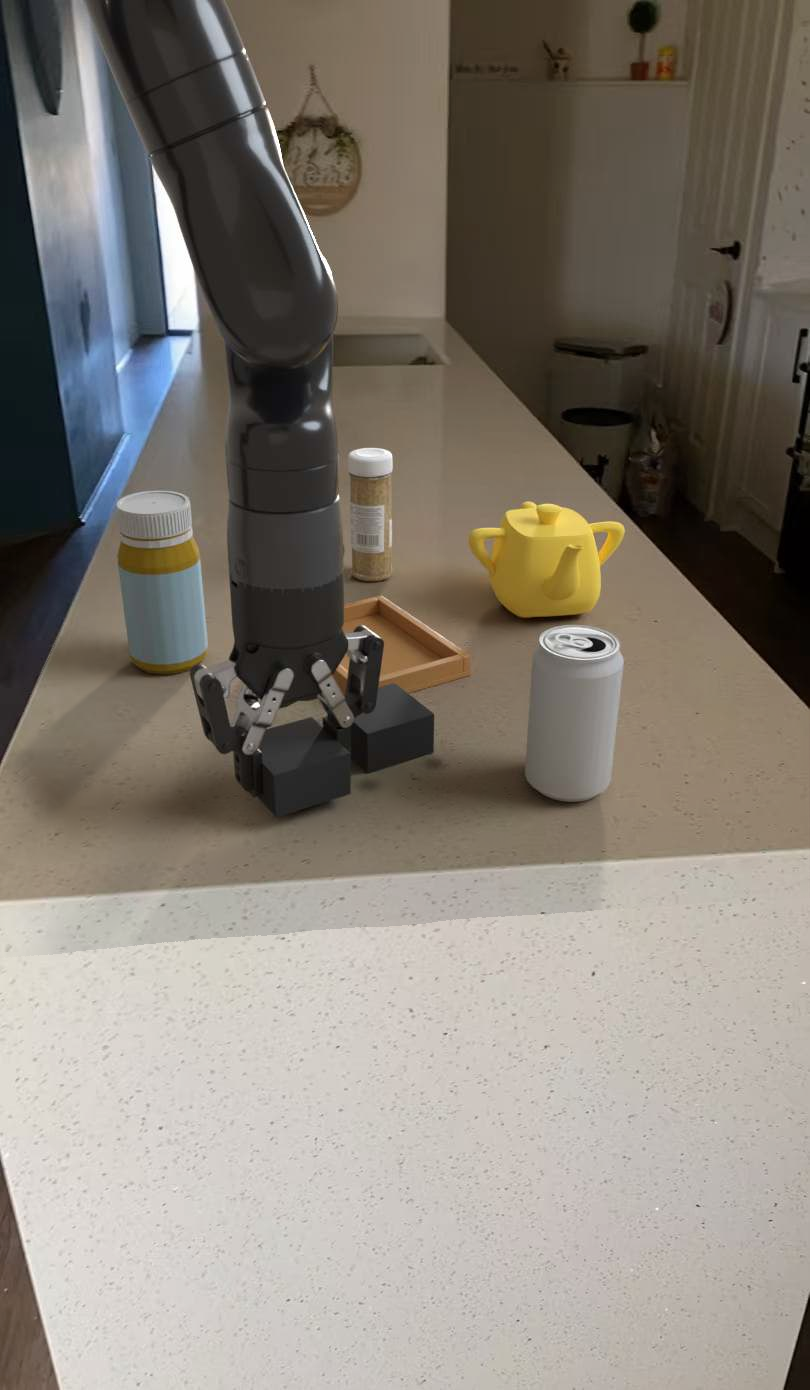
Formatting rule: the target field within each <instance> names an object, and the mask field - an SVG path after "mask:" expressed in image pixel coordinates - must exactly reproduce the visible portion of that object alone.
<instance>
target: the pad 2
mask: <svg viewBox="0 0 810 1390" xmlns="http://www.w3.org/2000/svg"><path fill="white" fill-rule="evenodd" d="M434 746H435V713H434V712H432V711H431V710H430V709H429V708H427V707H426V706H425V705H424V704H422V702H420V701H419V700H418V699H416V698H415V697H414V696H412V695H411V693H407V692H406V691H405V690H403V689H402V688H401V687H400V686H398V685H397V684H396V683H392V684H389V685H385V686H381V687H378V693H377V700H376V707H375V709H374V710H373V711H372V712H371V713H369V714H365V713H362V714H360V715H358V716H357V717H356V718H355V719H354V722H353V724H352V725H351V756H350V759H352V760H353V761H354V762H355V763H356V764H357V765H358V766H359V767H360V768H361V769H362V770H364V771H365V772H366V774H370V773H373V772H377V771H379V770H382V769H385V768H389V767H391V766H396V765H399V764H401V763H404V762H407V761H410V760H413V759H416V758H420V757H423V756H426V755H430V754H432V753H434V751H435V750H434V748H435V747H434Z"/></svg>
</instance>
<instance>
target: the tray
mask: <svg viewBox="0 0 810 1390" xmlns="http://www.w3.org/2000/svg"><path fill="white" fill-rule="evenodd" d="M360 625H363V626H365V627H367V628H368V629H369V630H371V631H372V632H373V633H375V634H376V635H377V636H379V637H380V638H381V639H383V641H384V649H383V657H382V664H381V671H380V678H379V686H378V687H381V686H385V685H389V684H392V683H396V684H397V685H398V686H400V687H401V688H402V689H403V690H405V691H406V692H407V693H408V694H411V693H415V692H419V691H421V690H425V689H428V688H432V687H435V686H438V685H442V684H445V683H449V682H452V681H456V680H459V679H462V678H466V677H470V676H471V660H472V659H471V655H470V654H469V653H467V652H466V651H464V650H463V649H462V648H460V647H459V646H457V645H455V644H454V643H452V641H450V640H448V639H447V638H445V637H444V636H442V635H441V634H439V633H438V632H436V631H434V630H433V629H431V628H430V627H429V626H427V625H426V624H424V623H423V622H422V621H420V620H418V619H417V618H415V617H414V616H412V615H411V614H409V613H408V612H407V611H405V610H404V609H402V608H400V607H399V606H398V605H396V604H394V603H393V602H392V601H390V600H389V599H387V598H386V597H384V596H383V595H377V596H373V597H369V598H364V599H360V600H356V601H352V602H348V603H344V624H343V627H342V629H343V632H344V633H352V632H354V630H355V628H356V627H358V626H360ZM349 661H350V658H349V657H348V656H347V652H346V654H345V656H344V658H343V659H342V661H341V663H340V664H339V666H338V668H337V669H336V671H335V673H334V674H333V677H334V679H335V680H336V682H337V684H338V686H339V688H340V689H341V691H342V693H343V695H345V693H346V685H347V677H348V669H349Z"/></svg>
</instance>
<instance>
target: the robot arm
mask: <svg viewBox="0 0 810 1390" xmlns="http://www.w3.org/2000/svg"><path fill="white" fill-rule="evenodd" d="M83 3H84V6H85V7H86V8H85V9H86V10H87V13H88V17H89V19H90V21H91V24H92V26H93V30H94V31H95V34H96V36H97V39H98V42H99V45H100V46H101V50H102V52H103V54H104V57H105V59H106V62H107V65H108V67H109V69H110V71H111V74H112V76H113V79H114V81H115V83H116V87H117V88H118V90H119V93H120V96H121V97H122V100H123V102H124V104H125V106H126V109H127V110H128V114H129V116H130V118H131V120H132V122H133V125H134V128H135V129H136V132H137V134H138V137H139V139H140V141H141V143H142V146H143V148H144V151H145V153H146V154H147V155H148V156H149V162H150V163H151V165H152V168H153V169H154V172H155V173H156V175H157V177H158V179H159V181H160V183H161V185H162V187H163V188H164V191H165V192H166V194H167V197H168V198H169V201H170V203H171V205H172V208H173V210H174V214H175V216H176V219H177V220H176V221H177V223H178V226H179V230H180V232H181V236H182V239H183V241H184V244H185V247H186V250H187V253H188V257H189V258H190V262H191V265H192V267H193V271H194V274H195V276H196V279H197V282H198V284H199V287H200V289H201V292H202V295H203V298H204V300H205V303H206V305H207V307H208V310H209V312H210V315H211V317H212V319H213V321H214V323H215V325H216V328H217V329H218V332H219V333H220V335H221V337H222V338H223V339H224V340H223V341H224V355H225V367H226V378H227V388H228V408H227V410H228V411H227V415H226V424H225V439H224V440H225V441H224V442H225V443H224V445H225V464H226V465H225V467H226V479H227V481H226V482H227V496H228V498H227V499H228V501H227V502H228V505H227V506H228V507H227V519H226V545H227V546H226V547H227V559H228V560H227V561H228V576H229V577H228V579H229V580H228V581H229V593H230V595H229V596H230V608H231V609H230V611H231V624H232V632H233V639H234V640H233V641H234V642H233V645H232V646H233V647H232V649H231V652H230V654H229V656H228V660H226V661H223V662H221V663H218V664H215V665H213V666H210V667H206V665H204V664H202V663H200V664H197V665H195V666H193V667H192V669H190V670H189V677H190V682H191V685H192V689H193V692H194V697H195V701H196V702H195V703H196V705H197V711H198V714H199V718H200V723H201V725H202V726H201V727H202V730H203V734H204V737H205V738H206V739H207V740H208V741H210V742H211V743H212V744H213V746H214V747H215V749H216V750H217V751H218V753H219V754H221V755H227V754H229V753H231V752H232V753H233V755H232V756H233V765H234V766H233V769H234V778H235V780H236V782H237V783H238V785H239V786H240V787H241V788H242V789H243V790H244V791H245V793H247V792H248V794H250V795H251V797H253V798H257V796H260V795H263V775H262V752H261V751H260V750H259V749H258V748H259V745H260V743H261V740H262V738H263V735H264V733H265V730H266V729H268V728H271V727H272V725H273V724H274V722H275V719H276V717H277V714H278V711H279V709H283V708H287V707H289V706H291V705H293V704H296V703H297V702H309V701H313V700H314V701H315V700H318V702H319V705H320V706H321V707H322V709H323V711H324V712H325V713H326V716H324V717H322V727H323V728H324V729H325V730H326V731H327V732H328V733H329V734H330V735H331V736H332V737H333V738H334V739H335V740H336V741H338V742H339V743H340V744H341V745H342V746H343V747H344V748H345V749H347V750H348V751H349V752H350V756H351V725H352V724H353V722H354V719H355V718H356V717H357V716H358V715H360V714H362V713H365V714H369V713H371V712H372V711H373V710H374V709H375V707H376V700H377V693H378V686H379V678H380V671H381V664H382V657H383V649H384V641H383V639H381V638H380V637H379V636H377V635H376V634H375V633H373V632H372V631H371V630H369V629H368V628H367V627H365V626H363V625H360V626H358V627H356V628H355V630H354V632H352V633H344V632H343V629H342V627H343V624H344V604H345V569H344V567H345V566H344V565H345V563H344V558H345V557H344V556H345V551H346V550H345V543H344V527H343V518H342V513H341V506H340V505H341V504H340V473H339V472H340V466H339V464H340V463H339V462H340V461H339V458H340V457H339V440H338V431H337V430H338V429H337V423H336V417H335V412H334V406H333V374H334V372H333V371H334V332H335V330H336V325H337V321H338V315H339V299H338V293H337V288H336V283H335V280H334V276H333V273H332V271H331V270H332V269H331V267H330V266H329V264H328V263H329V262H327V259H326V258H325V256H324V255H323V253H322V252H321V251H320V249H319V246H318V244H317V242H316V239H315V236H314V235H313V232H312V230H311V228H310V225H309V222H308V220H307V217H306V215H305V212H304V210H303V208H302V206H301V204H300V201H299V199H298V197H297V194H296V192H295V190H294V187H293V185H292V183H291V181H290V179H289V176H288V174H287V172H286V169H285V167H284V162H283V158H282V152H281V147H280V143H279V139H278V136H277V131H276V129H275V124H274V122H273V119H272V116H271V113H270V110H269V108H268V107H267V106H266V105H267V101H266V99H265V97H264V94H263V92H262V89H261V86H260V83H259V81H258V78H257V76H256V73H255V70H254V68H253V66H252V63H251V60H250V58H249V57H250V56H249V55H248V53H247V50H246V48H245V45H244V42H243V39H242V37H241V35H240V32H239V30H238V27H237V24H236V23H235V20H234V17H233V15H232V12H231V10H230V8H229V6H228V4H227V2H226V0H83ZM150 155H151V156H150ZM346 652H347V656H348V657H349V658H350V661H349V669H348V677H347V685H346V693H345V695H343V693H342V691H341V689H340V688H339V686H338V684H337V682H336V680H335V679H334V677H333V674H334V673H335V671H336V669H337V668H338V666H339V664H340V663H341V661H342V659H343V658H344V656H345V654H346ZM236 678H238V679H239V680H240V681H241V682H242V683H243V684H242V686H241V689H240V692H239V695H238V697H237V699H236V712H235V714H234V717H233V720H232V721H231V722H232V723H230V718H229V714H228V710H227V706H226V701H225V699H227V698H229V697H230V692H231V684H232V682H233V680H234V679H236ZM259 700H260V701H259Z"/></svg>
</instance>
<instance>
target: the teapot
mask: <svg viewBox="0 0 810 1390" xmlns="http://www.w3.org/2000/svg"><path fill="white" fill-rule="evenodd" d="M594 533H607V537H606V540H605V542H604V544H603V545H602V547H601V548H600V549H599V551H598V547H597V543H596V540H595V536H594ZM625 533H626V530H625V527H624V525H623V524H622V523H620V522H618V521H600V522H594V523H589V522H588V521H587V520H586V518H585V517H583V516H582V515H581V514H580V513H578V512H577V511H575V510H573V509H571V508H568V507H561V506H560V505H558V504H553V503H541V504H539V505H537V504H536V503H534V502H533V501H524V502H523V503H521V505H520V508H516V509H509V510H507V511H506V512H505V513H504V515H503V517H502V519H501V522H500V524H499V527H480V528H476V529H473V530H472V531H470V533H469V534H468V537H467V540H468V545H469V549H470V550H471V552H472V554H473V555H474V557H475V559H476V560H478V561H479V563H480V564H481V565H482V566H483V567H484V568H485V569H486V570H487V571H488V579H489V583H490V586H491V588H492V591H493V593H494V594H495V596H496V598H497V600H498V601H499V602H500V603H501V605H502V606H503V607H504V608H506V610H508V611H509V612H511V613H512V614H514V615H515V616H517V617H519V618H523V619H530V618H537V617H540V618H541V617H558V616H576V615H580V614H587V613H589V612H591V611H592V610H593V609H594V607H595V606H596V604H597V602H598V600H599V598H600V597H601V596H600V595H601V588H602V576H601V567H602V565H603V564H604V563H605V562H606V561H607V560H608V559H609V558H610V557H611V556H612V555H613V554H614V553H615V551H616V550H617V549H618V547H619V546H620V545H621V543H622V541H623V539H624V536H625ZM492 538H493V539H494V540H493V544H492V548H491V552H490V556H489V554H488V551H487V548H486V546H485V541H486V540H488V539H492Z"/></svg>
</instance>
